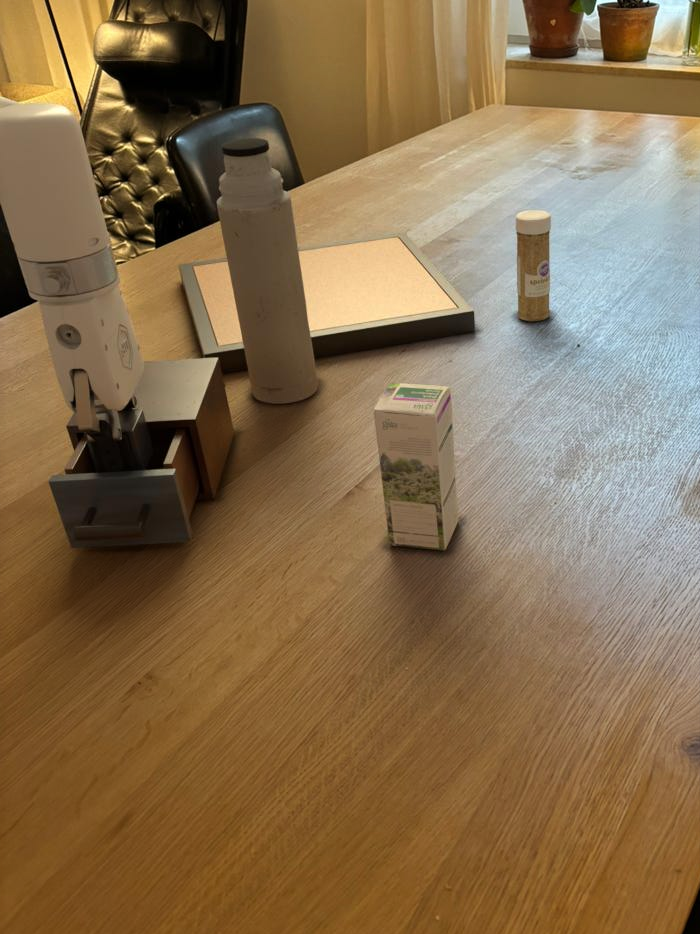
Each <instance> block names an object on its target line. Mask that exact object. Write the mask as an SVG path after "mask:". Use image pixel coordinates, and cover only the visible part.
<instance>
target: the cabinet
mask: <svg viewBox="0 0 700 934" xmlns="http://www.w3.org/2000/svg"><path fill="white" fill-rule="evenodd" d="M143 362H144V371H143V374H142V376H141V379H140V381H139V383H138V385H137V387H136V389H135V391H134V393H135V395H136V398H137V408H132V409H139V410H143V412H144V416H145V420H146V424H147V427H148V429H158V428H176V427H189V429H190V433H191V437H192V441H193V445H194V450H195V454H196V458H197V462H198V466H199V471H200V475H201V479H202V482H201V485H200V488H199V491H198V494H197V497H196V500H195V501H210V500H211V501H212V500H215V498H216V494H217V491H218V487H219V484H220V481H221V478H222V475H223V471H224V468H225V465H226V461H227V459H228V455H229V452H230V448H231V445H232V442H233V439H234V435H235V429H234V425H233V419H232V415H231V414H232V413H231V410H230V406H229V401H228V395H227V391H226V386H225V381H224V376H223V374H222V371H221V367H220V362H219V358H218V357H217V358H203V357H202V358H200V357H199V358H184V359H183V358H182V359H164V360H148V361H147V360H146V361H144V360H143ZM97 404H103V403H102V402H101V401H100V400H95V405H97ZM65 428H66V430H67V434H68V437H69V439H70V442H71V446H72V448H73V452H74V451H75V449H76V447H77V445H78V444H79V442H80V440H81V438H82V436H83V434H84V433H85V432H82V431H80V430H79V428H78V422H77V413H75V412H73V413H72V415H71V417H70V419H69V420H68V422H67V423H66V426H65Z"/></svg>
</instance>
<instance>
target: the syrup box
mask: <svg viewBox="0 0 700 934" xmlns="http://www.w3.org/2000/svg"><path fill="white" fill-rule="evenodd" d="M373 418H374V426H375V434H376V443H377V450H378V461H379V468H380V478H381V485H382V494H383V503H384V510H385V511H384V512H385V518H386V528H387V535H388V537H387V538H388V544H389V546H391V547H392V546H394V547H405V548H414V549H422V550H423V549H425V550H433V551H445V550H446V549H447V547H448V546H449V543H450V542H451V539H452V537H453V534H454V532H455V529H456V528H457V525H458V523H459V520H460V515H459V503H458V494H457V479H456V462H455V460H456V459H455V442H454V441H455V440H454V423H453V422H454V420H453V403H452V391H451V388H450V386H448V385H447V386H446V385H434V384H433V385H432V384H418V383H417V384H416V383H403V382H390V384H388V386H387V387H386V388H385V390H384V391H383V392H382V394H381V396H379V399H378V401H377V402H376V404H375V406H374V407H373Z"/></svg>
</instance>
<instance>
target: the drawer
mask: <svg viewBox="0 0 700 934" xmlns="http://www.w3.org/2000/svg"><path fill="white" fill-rule="evenodd" d="M148 431H149V435H150V439H151V442H152V446H153V450H154V451H153V453H152V456H151V458H150V461H149V463H148V465H147V468H146V470H140V471H122V472H103V473H97V472H96V469H95V466H94V462H93V459H92V456H91V453H90V449H89V446H88V443H87V440H86V437H85V433H84V434H83V436H82V438H81V440H80V442H79V444H78V445H77V447H76V449H75V451H74V450H73V453H72V454H71V457H70V459H69V460H68V462H67V463H66V466H65V467H64V469H63V470H64V474H53V475H51V476H50V478H49V480H48V485H49V488H50V491H51V494H52V496H53V499H54V502H55V505H56V508H57V511H58V514H59V516H60V519H61V522H62V525H63V529H64V530H65V534H66V536H67V540H68V543H69V546H70V549H80V548H83V549H84V548H101V547H116V546H117V547H118V546H119V547H120V546H136V545H137V546H138V545H155V544H169V543H170V544H171V543H173V544H174V543H188V542H192V538H193V535H194V534H193V530H192V526H191V523H190V518H191V515H192V512H193V509H194V506H195V503H196V501H197V500H196V497H197V494H198V491H199V488H200V485H201V482H202V479H201V475H200V471H199V466H198V462H197V458H196V454H195V450H194V445H193V441H192V437H191V433H190V429H189V427H176V428H158V429H148Z"/></svg>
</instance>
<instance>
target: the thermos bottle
mask: <svg viewBox="0 0 700 934" xmlns="http://www.w3.org/2000/svg"><path fill="white" fill-rule="evenodd" d="M269 150H270V144H269V141H268V140H267V139H265V138H258V137H244V138H237V139H232V140H229V141H226V142H224V143H222V144H221V151H222V154H223V157H224V158H223V164H224V170H225V172H223V174H222V175H220V176H219V178H218V182H219V187H218V190H219V192H220V194H221V196H220V197H218V198H217V200H216V208H217V214H218V219H219V225H220V229H221V234H222V238H223V246H224V250H225V255H226V258H227V261H228V266H229V272H230V277H231V282H232V287H233V293H234V298H235V303H236V308H237V314H238V319H239V324H240V330H241V335H242V340H243V345H244V351H245V356H246V361H247V366H248V370H247V372H248V377H249V382H250V387H251V391H252V395H253V397H254V398H255V399H256V400H257V401H260V402H263V403H266V404H271V405H273V404H274V405H275V404H276V405H282V404H283V405H285V404H291V403H296V402H299V401H300V402H301V401H302V400H305V399H308V398H309V397H311V396H313V395H314V394H315V393H316V392H317V390H318V387H319V382H318V376H317V368H316V362H315V361H316V360H315V358H314V354H313V348H312V341H311V335H310V329H309V323H308V316H307V308H306V300H305V293H304V286H303V279H302V272H301V265H300V259H299V252H298V248H299V246H298V237H297V232H296V225H295V224H296V223H295V218H294V212H293V211H294V210H293V206H292V204H293V203H292V198H291V194H290V193H289V192H288V191H286V190H284V188H283V183H284V179H283V178H282V175H281V173H280V172H279V170H278V169H275V168H273V167H272V164H271V157H270V154H269V152H268V151H269Z"/></svg>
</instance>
